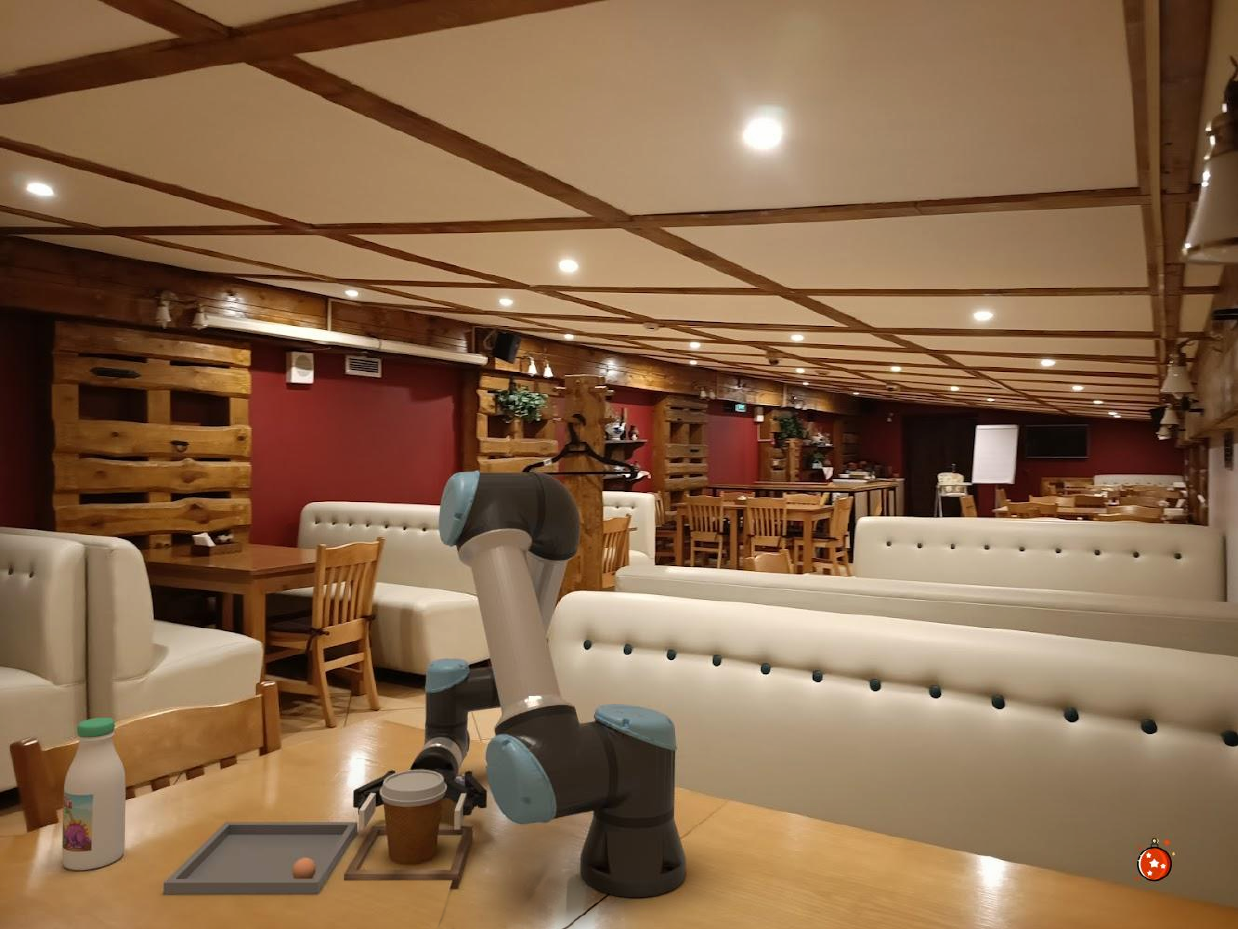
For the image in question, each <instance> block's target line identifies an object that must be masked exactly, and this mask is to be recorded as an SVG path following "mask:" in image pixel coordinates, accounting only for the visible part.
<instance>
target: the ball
mask: <svg viewBox="0 0 1238 929" xmlns="http://www.w3.org/2000/svg"><path fill="white" fill-rule="evenodd" d="M315 871H316V865H315V863H314V861H313V860H312V859H310V858H302V859H300V860H298V861H297V862H296V863H295V864H294V866H293V870H292V874H293V877H294V878H295V879H311V878H312V877H313V876H314V874H315Z"/></svg>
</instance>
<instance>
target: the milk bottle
mask: <svg viewBox="0 0 1238 929" xmlns="http://www.w3.org/2000/svg"><path fill="white" fill-rule="evenodd" d="M115 726H116V725H115V720H114V718H111V717H96V718H90V719H89V718H88V719H86V720H82V721H81V722H79V723H78V724H77V730H76V731H77V732H76V733H77V738H76V739H77V740H78V747H77V750H76V754H75V755H74V758H73V760H72V762H71V764H70V766H69V767H68V769H67V772H66V775H65V779H64V787H63V799H62V802H63V805H62V806H63V807H62V839H61V841H62V843H61V845H62V848H61V851H62V852H61V853H62V854H61V860H62V861H61V862H62V865H63V867H65V868H66V869H68V870H72V871H85V870H86V871H88V870H92V869H93V870H94V869H98V868H102V867H105V866H107V865H110V864H112V863H114V862H117V860H119V859H120V858H121V857H122V856H123V854H124V852H125V849H126V848H125V847H126V846H125V844H126V841H125V840H126V772H125V768H124V764H123V761H122V760H121V758H120V756H119V754H118V752H117V750H116V747H115V745H114V741H113V737H114V735H115Z"/></svg>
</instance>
